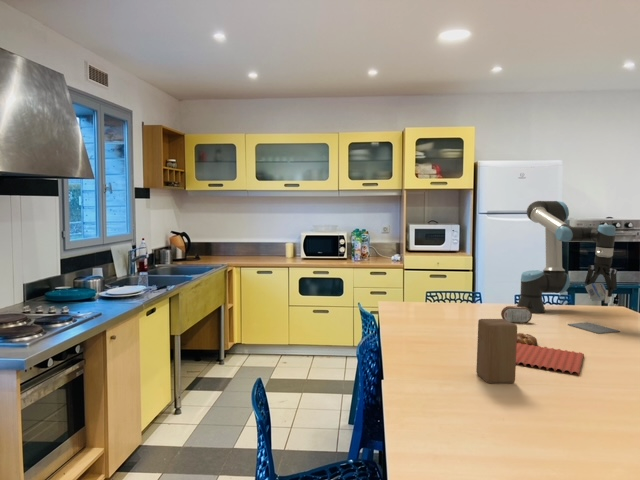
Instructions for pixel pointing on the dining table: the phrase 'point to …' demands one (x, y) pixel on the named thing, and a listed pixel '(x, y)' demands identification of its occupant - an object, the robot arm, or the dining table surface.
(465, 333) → the dining table surface
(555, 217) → the robot arm
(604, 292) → the medicine box
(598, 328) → the slate mat
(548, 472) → the dining table surface
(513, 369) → the wooden block
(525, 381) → the dining table surface
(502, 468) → the dining table surface
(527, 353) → the corrugated roof tile
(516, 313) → the tin
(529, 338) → the pretzel
